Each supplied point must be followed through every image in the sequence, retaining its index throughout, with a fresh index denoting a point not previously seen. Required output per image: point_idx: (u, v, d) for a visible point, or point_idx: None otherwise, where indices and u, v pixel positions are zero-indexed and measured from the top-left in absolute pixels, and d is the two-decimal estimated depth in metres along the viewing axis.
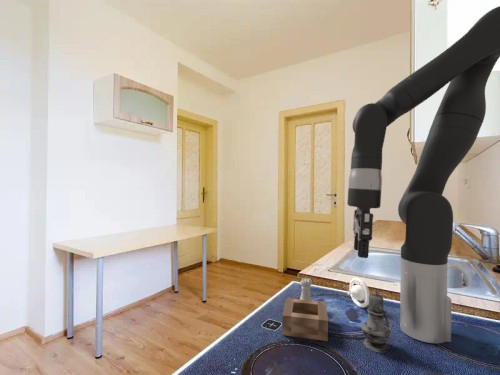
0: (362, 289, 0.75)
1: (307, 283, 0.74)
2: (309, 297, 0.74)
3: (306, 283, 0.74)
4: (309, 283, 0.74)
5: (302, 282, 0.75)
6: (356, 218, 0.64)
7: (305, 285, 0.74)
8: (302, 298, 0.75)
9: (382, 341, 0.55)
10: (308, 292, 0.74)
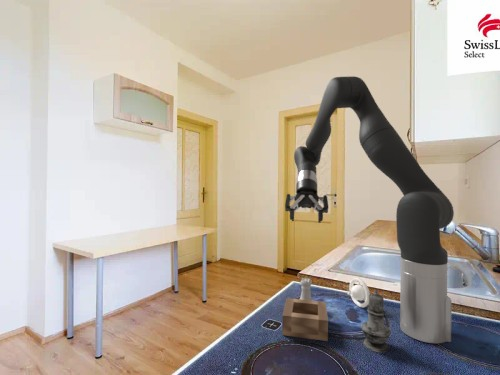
0: (362, 289, 0.75)
1: (307, 283, 0.74)
2: (309, 297, 0.74)
3: (306, 283, 0.74)
4: (309, 283, 0.74)
5: (302, 282, 0.75)
6: None
7: (305, 285, 0.74)
8: (302, 298, 0.75)
9: (382, 341, 0.55)
10: (308, 292, 0.74)
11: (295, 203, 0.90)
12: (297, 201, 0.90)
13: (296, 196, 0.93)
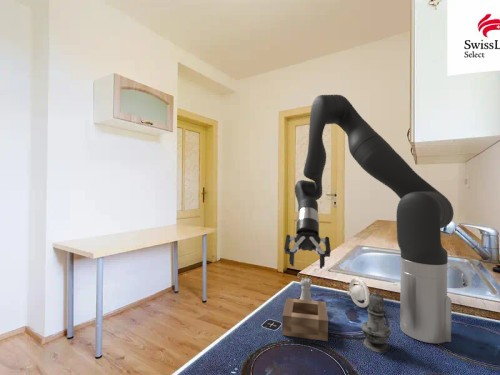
0: (362, 289, 0.75)
1: (307, 283, 0.74)
2: (309, 297, 0.74)
3: (306, 283, 0.74)
4: (309, 283, 0.74)
5: (302, 282, 0.75)
6: None
7: (305, 285, 0.74)
8: (302, 298, 0.75)
9: (382, 341, 0.55)
10: (308, 292, 0.74)
11: (295, 246, 0.85)
12: (297, 244, 0.85)
13: (296, 237, 0.88)
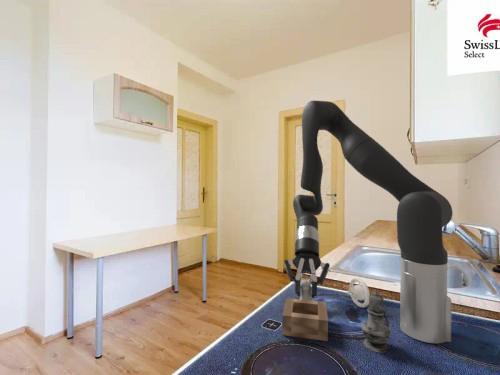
0: (362, 289, 0.75)
1: (307, 283, 0.74)
2: (309, 297, 0.74)
3: (306, 283, 0.74)
4: (309, 283, 0.74)
5: (302, 282, 0.75)
6: None
7: (305, 285, 0.74)
8: (302, 298, 0.75)
9: (382, 341, 0.55)
10: (308, 292, 0.74)
11: (299, 272, 0.77)
12: (300, 268, 0.78)
13: (295, 259, 0.81)
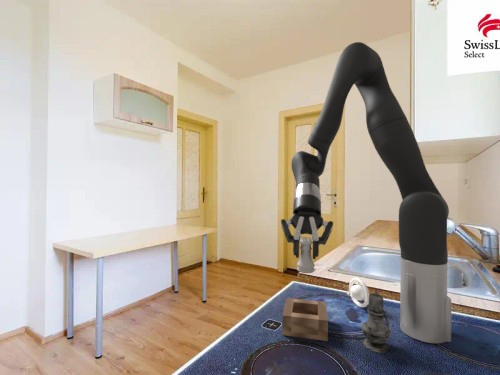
0: (362, 289, 0.75)
1: (307, 242, 0.64)
2: (309, 258, 0.64)
3: (306, 242, 0.64)
4: (309, 242, 0.64)
5: (301, 241, 0.64)
6: None
7: (305, 244, 0.64)
8: (301, 260, 0.64)
9: (382, 341, 0.55)
10: (308, 252, 0.64)
11: (297, 231, 0.67)
12: (299, 227, 0.67)
13: (293, 219, 0.70)
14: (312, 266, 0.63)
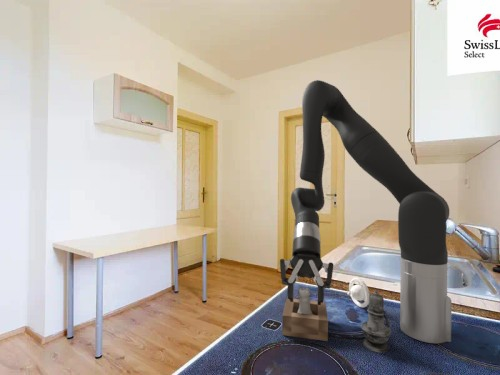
0: (362, 289, 0.75)
1: (305, 294, 0.64)
2: (308, 310, 0.64)
3: (304, 294, 0.64)
4: (308, 293, 0.64)
5: (299, 292, 0.64)
6: None
7: (303, 296, 0.64)
8: (300, 311, 0.64)
9: (382, 341, 0.55)
10: (307, 304, 0.64)
11: (293, 274, 0.67)
12: (295, 271, 0.67)
13: (292, 261, 0.70)
14: None
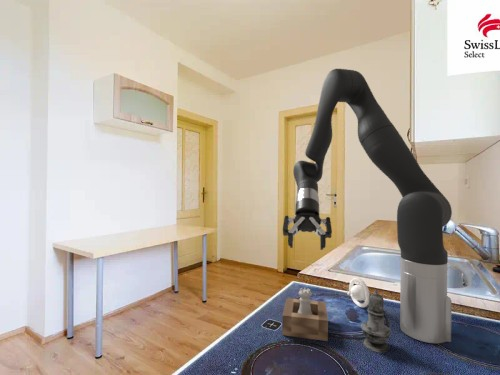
0: (362, 289, 0.75)
1: (306, 294, 0.64)
2: (309, 311, 0.64)
3: (305, 294, 0.64)
4: (309, 294, 0.64)
5: (300, 293, 0.64)
6: None
7: (304, 297, 0.64)
8: (300, 312, 0.64)
9: (382, 341, 0.55)
10: (307, 305, 0.64)
11: (294, 227, 0.80)
12: (296, 224, 0.80)
13: (295, 218, 0.82)
14: None
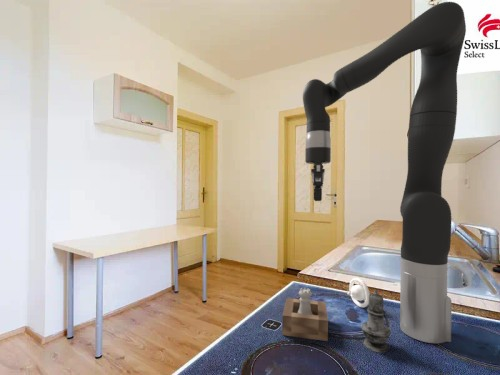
0: (362, 289, 0.75)
1: (306, 294, 0.64)
2: (309, 311, 0.64)
3: (305, 294, 0.64)
4: (309, 294, 0.64)
5: (300, 293, 0.64)
6: (312, 171, 0.80)
7: (304, 297, 0.64)
8: (300, 312, 0.64)
9: (382, 341, 0.55)
10: (307, 305, 0.64)
11: (323, 180, 0.78)
12: (323, 178, 0.78)
13: None
14: None
